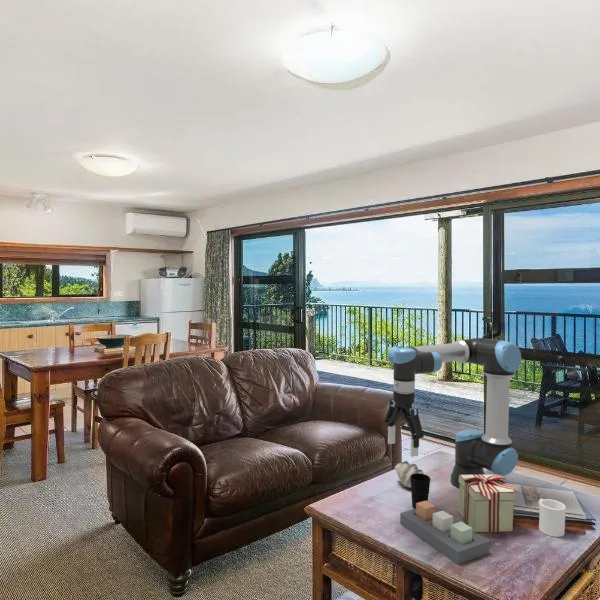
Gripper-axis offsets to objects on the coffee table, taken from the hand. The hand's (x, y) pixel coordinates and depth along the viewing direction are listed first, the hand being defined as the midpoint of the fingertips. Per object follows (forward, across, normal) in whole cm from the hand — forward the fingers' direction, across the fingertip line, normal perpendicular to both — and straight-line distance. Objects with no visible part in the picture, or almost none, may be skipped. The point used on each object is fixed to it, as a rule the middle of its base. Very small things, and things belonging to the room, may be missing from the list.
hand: (402, 449), depth 175 cm
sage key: (+25, +22, +8) cm, 34 cm away
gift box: (+28, +12, +30) cm, 43 cm away
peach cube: (+25, +5, +7) cm, 26 cm away
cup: (+28, -8, +15) cm, 32 cm away
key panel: (+28, +13, +8) cm, 32 cm away
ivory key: (+25, +13, +8) cm, 29 cm away
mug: (+28, +23, +48) cm, 60 cm away
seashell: (+28, -24, +23) cm, 43 cm away
